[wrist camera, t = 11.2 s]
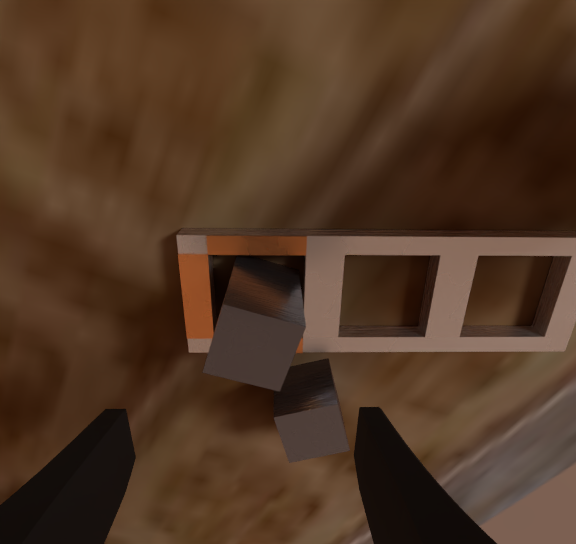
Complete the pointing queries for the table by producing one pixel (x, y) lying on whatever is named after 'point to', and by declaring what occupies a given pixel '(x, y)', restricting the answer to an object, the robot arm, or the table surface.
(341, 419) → the grey wood-grain cube
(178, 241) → the square hole plate
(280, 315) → the dark square post
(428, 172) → the table surface
